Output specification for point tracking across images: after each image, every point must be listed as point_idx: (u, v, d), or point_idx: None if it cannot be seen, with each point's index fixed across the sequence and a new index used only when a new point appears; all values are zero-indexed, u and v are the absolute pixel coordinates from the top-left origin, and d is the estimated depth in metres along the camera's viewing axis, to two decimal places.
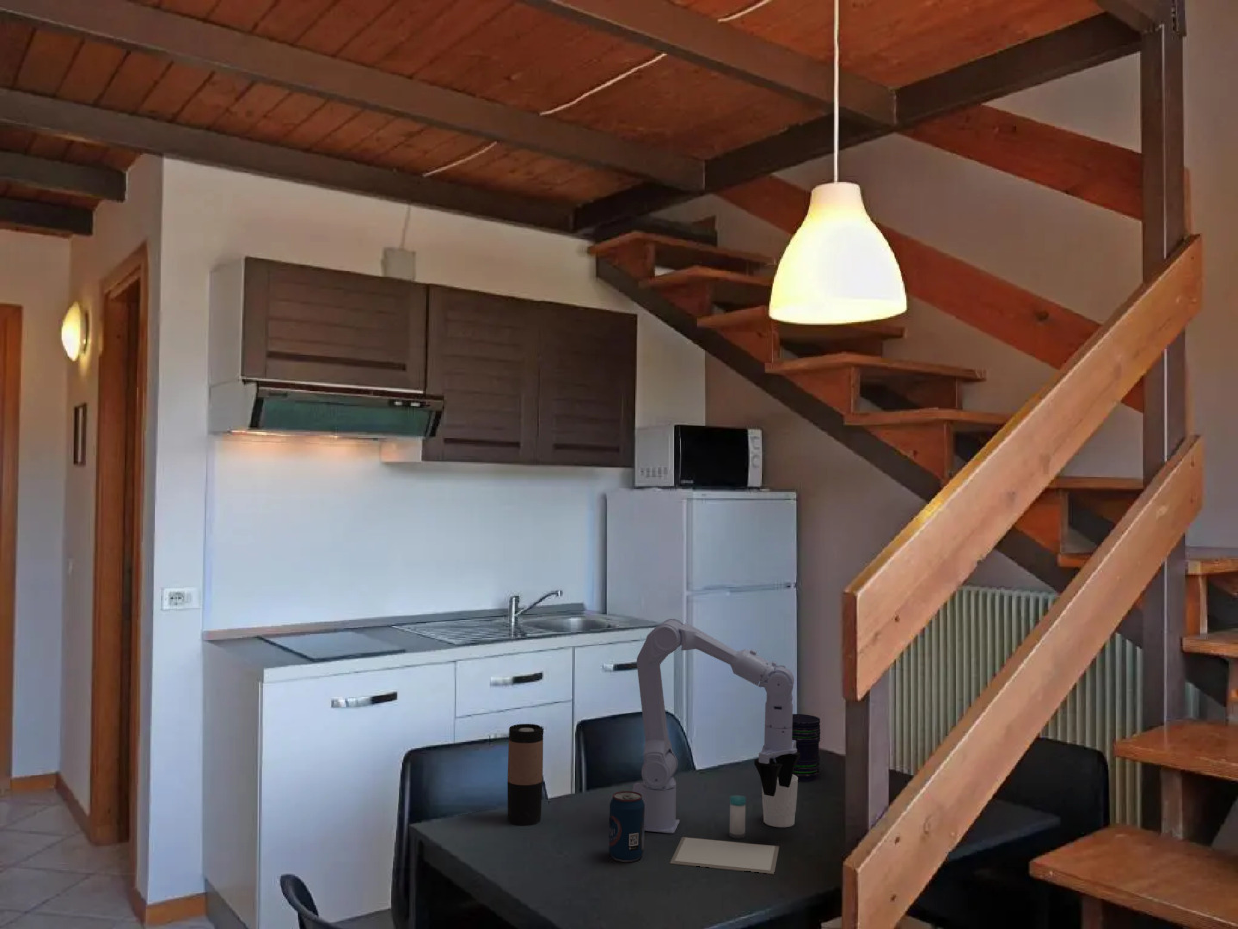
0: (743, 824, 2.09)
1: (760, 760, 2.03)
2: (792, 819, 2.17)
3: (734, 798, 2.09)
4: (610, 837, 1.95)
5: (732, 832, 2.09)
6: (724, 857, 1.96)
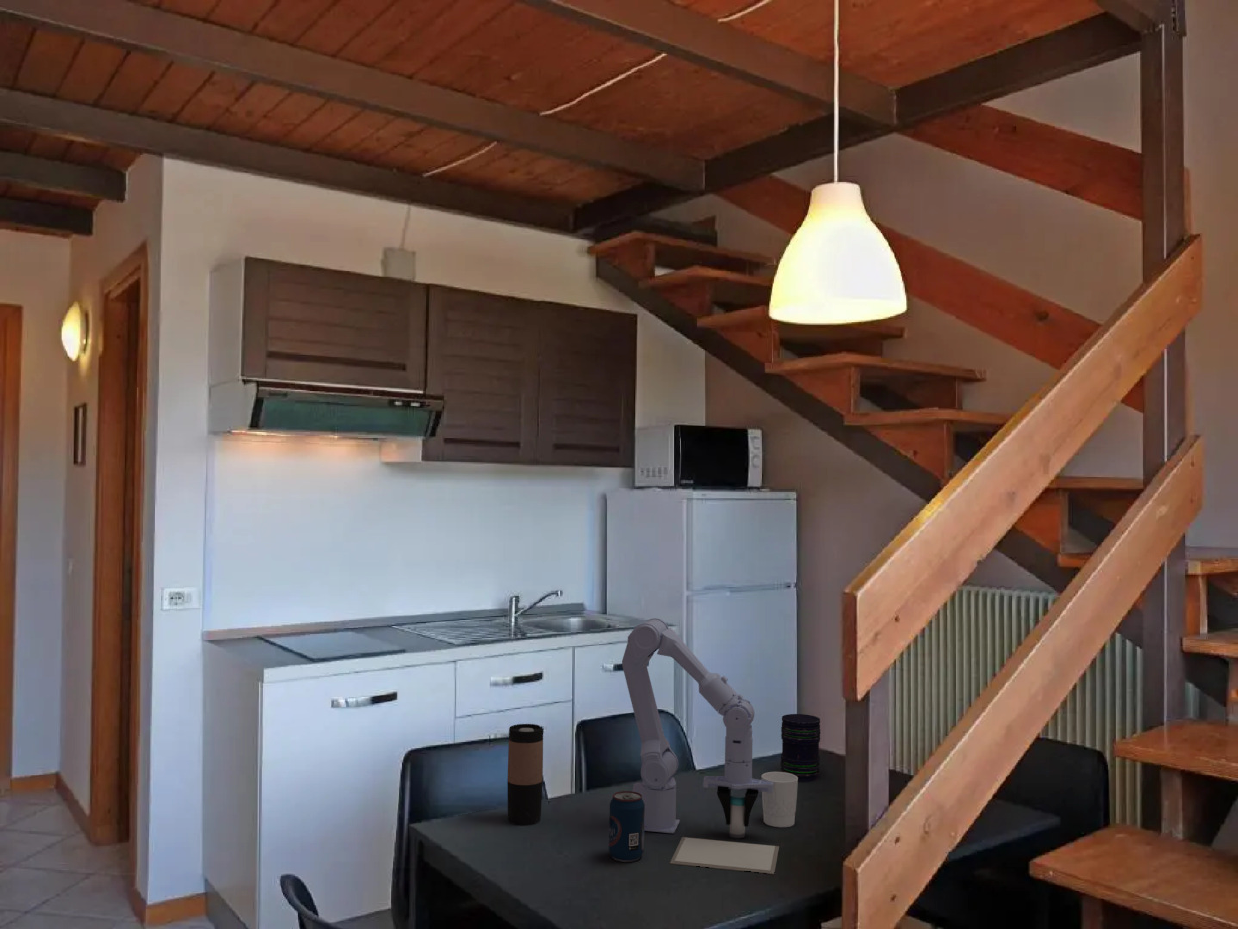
0: (743, 824, 2.09)
1: None
2: (792, 819, 2.17)
3: (734, 798, 2.09)
4: (610, 837, 1.95)
5: (732, 832, 2.09)
6: (724, 857, 1.96)
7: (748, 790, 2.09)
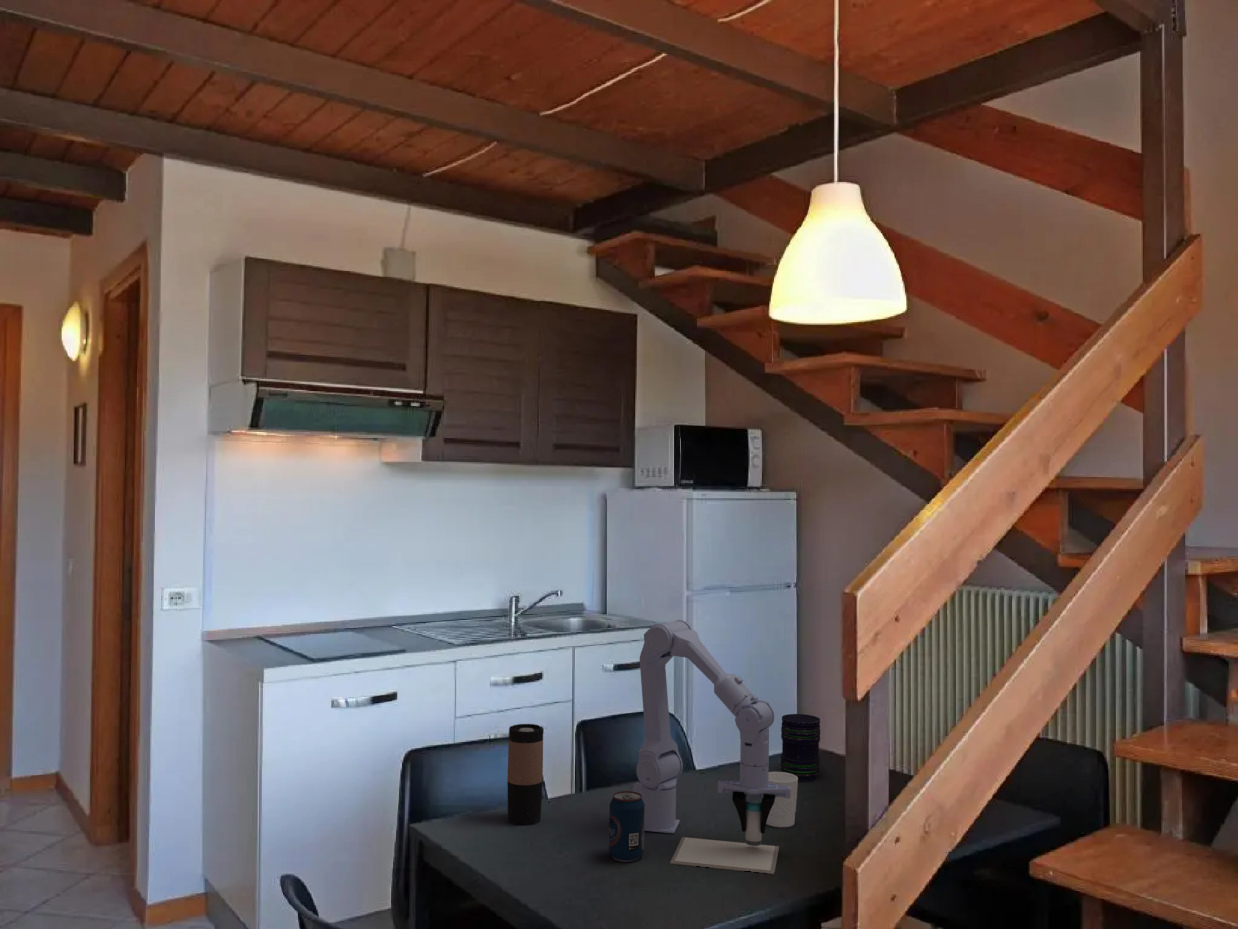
0: (760, 831, 2.00)
1: None
2: (792, 819, 2.17)
3: (751, 804, 2.00)
4: (610, 837, 1.95)
5: (748, 839, 2.00)
6: (724, 857, 1.96)
7: (765, 795, 2.00)
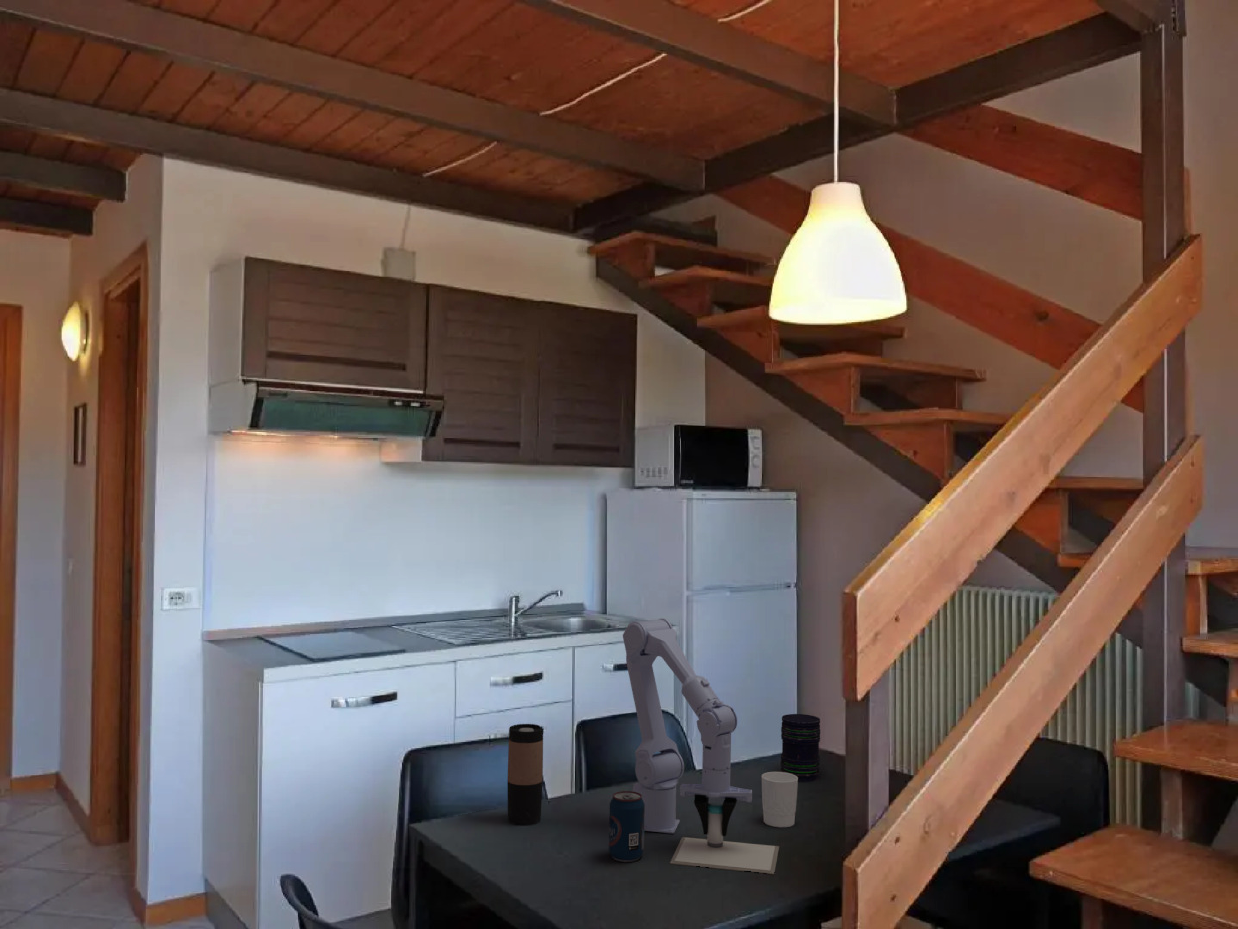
0: (721, 833, 2.02)
1: None
2: (792, 819, 2.17)
3: (712, 806, 2.02)
4: (610, 837, 1.95)
5: (710, 841, 2.02)
6: (724, 857, 1.96)
7: (726, 798, 2.02)
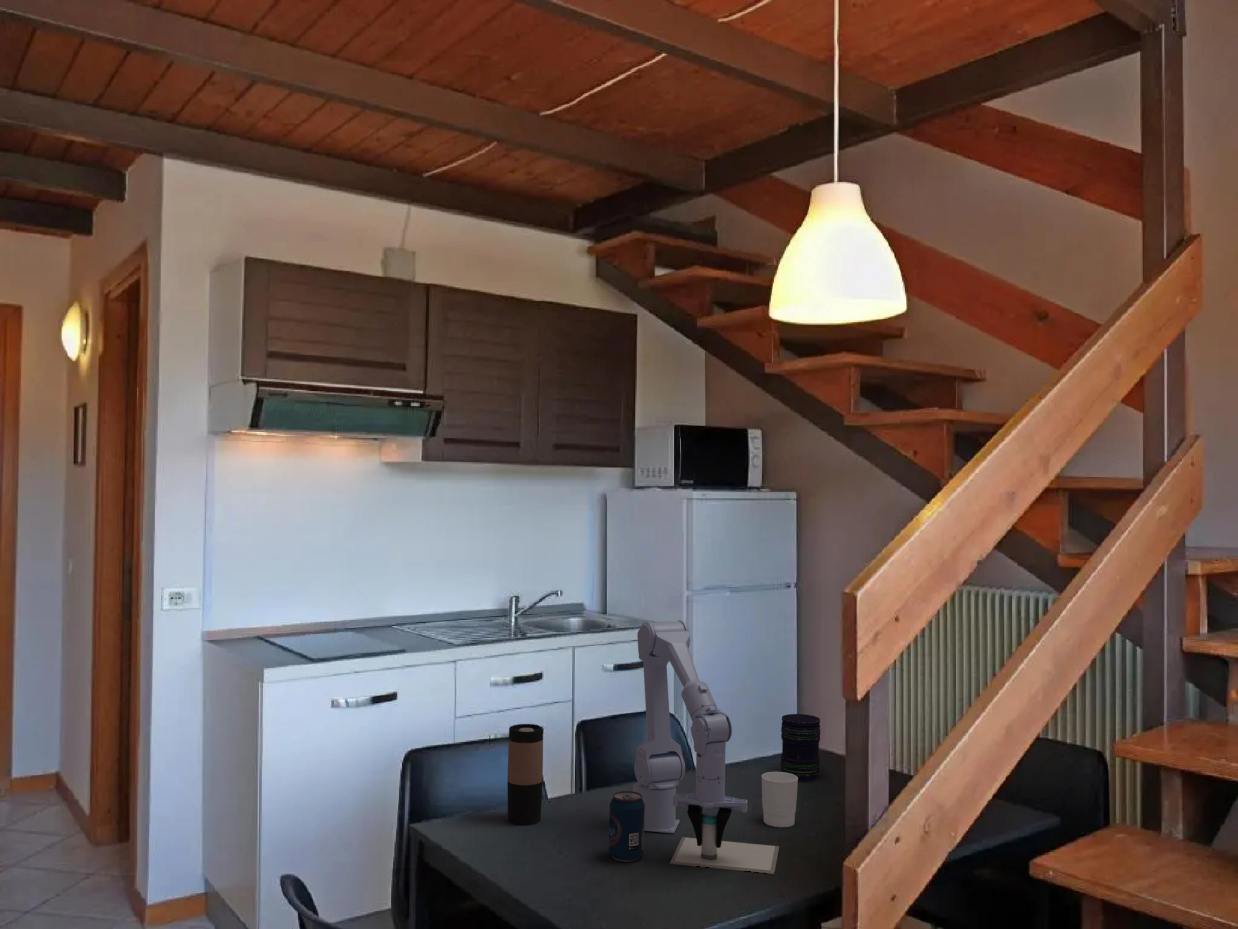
0: (715, 844, 1.95)
1: None
2: (792, 819, 2.17)
3: (706, 817, 1.95)
4: (610, 837, 1.95)
5: (704, 853, 1.95)
6: (724, 857, 1.96)
7: (720, 809, 1.95)
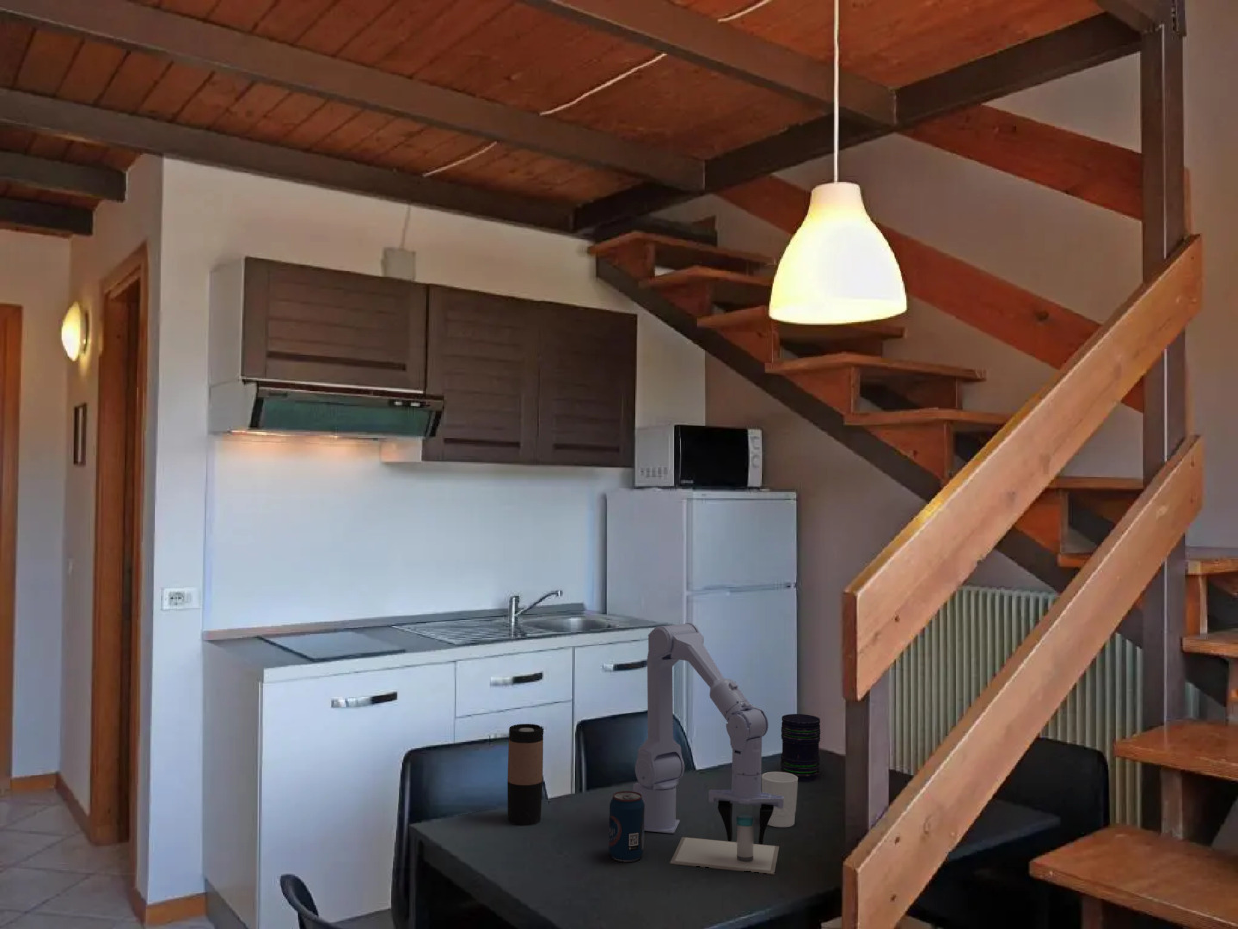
0: (751, 846, 1.94)
1: None
2: (792, 819, 2.17)
3: (741, 818, 1.95)
4: (610, 837, 1.95)
5: (740, 855, 1.94)
6: (724, 857, 1.96)
7: None
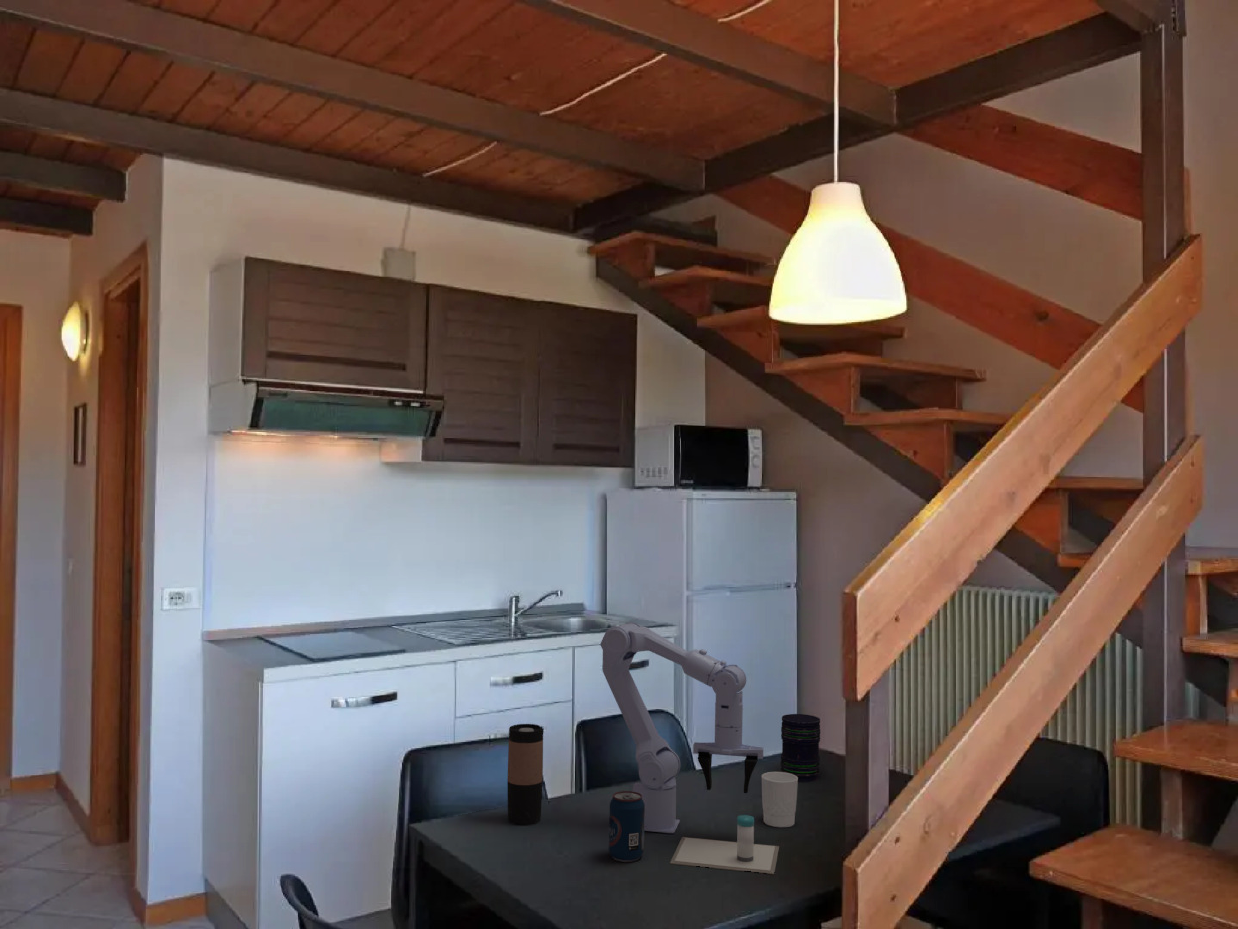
0: (751, 846, 1.94)
1: None
2: (792, 819, 2.17)
3: (742, 819, 1.95)
4: (610, 837, 1.95)
5: (740, 855, 1.94)
6: (724, 857, 1.96)
7: None
